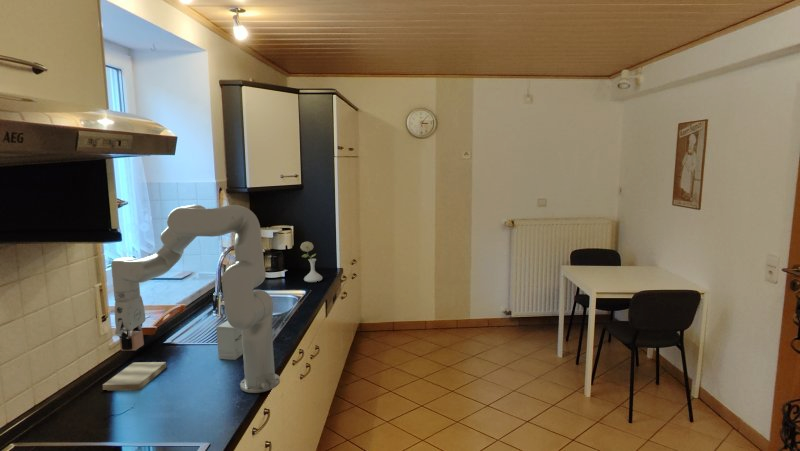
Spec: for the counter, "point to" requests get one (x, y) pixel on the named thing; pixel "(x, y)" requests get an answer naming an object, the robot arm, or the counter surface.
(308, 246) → the flower in vase
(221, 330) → the supplement box
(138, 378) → the chopping board
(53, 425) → the counter surface
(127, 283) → the robot arm
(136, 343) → the terracotta cube
